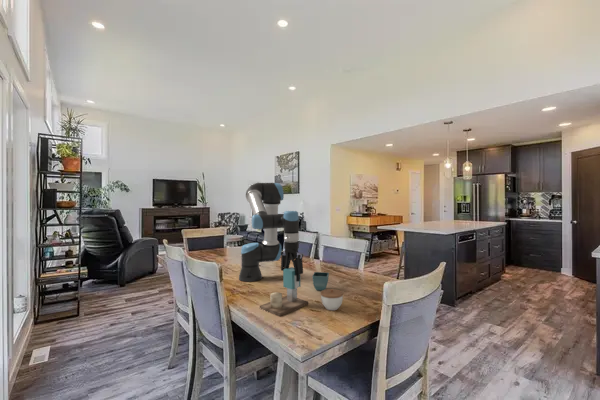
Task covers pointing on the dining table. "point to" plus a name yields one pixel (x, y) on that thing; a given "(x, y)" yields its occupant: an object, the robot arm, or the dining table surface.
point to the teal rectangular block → (289, 278)
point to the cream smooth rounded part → (276, 300)
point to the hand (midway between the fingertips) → (291, 286)
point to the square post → (291, 294)
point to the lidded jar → (332, 298)
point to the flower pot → (320, 280)
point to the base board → (284, 306)
